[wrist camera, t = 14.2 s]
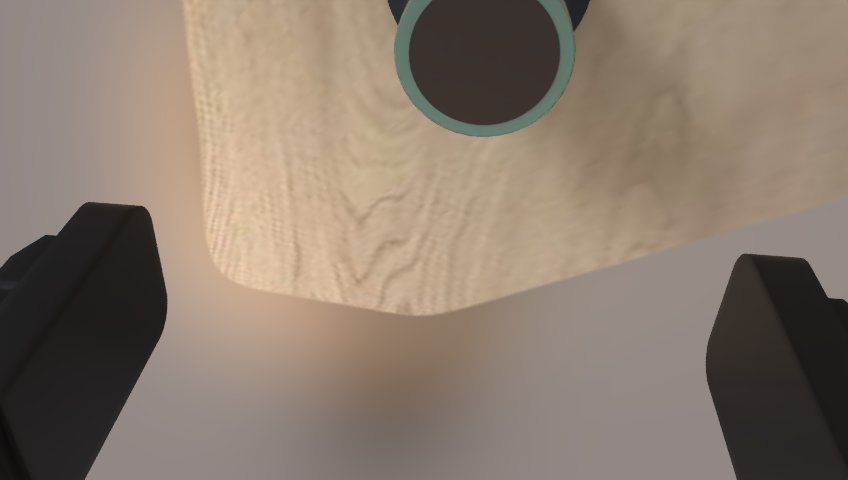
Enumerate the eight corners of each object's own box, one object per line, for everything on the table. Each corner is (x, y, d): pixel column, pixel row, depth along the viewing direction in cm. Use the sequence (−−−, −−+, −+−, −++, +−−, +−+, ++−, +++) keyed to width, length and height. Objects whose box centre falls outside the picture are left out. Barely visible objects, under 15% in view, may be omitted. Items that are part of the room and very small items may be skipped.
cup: (394, -1, 34) (361, 80, 26) (469, -128, 30) (457, -76, 23) (506, 71, 35) (505, 167, 28) (589, -43, 32) (614, 31, 24)
